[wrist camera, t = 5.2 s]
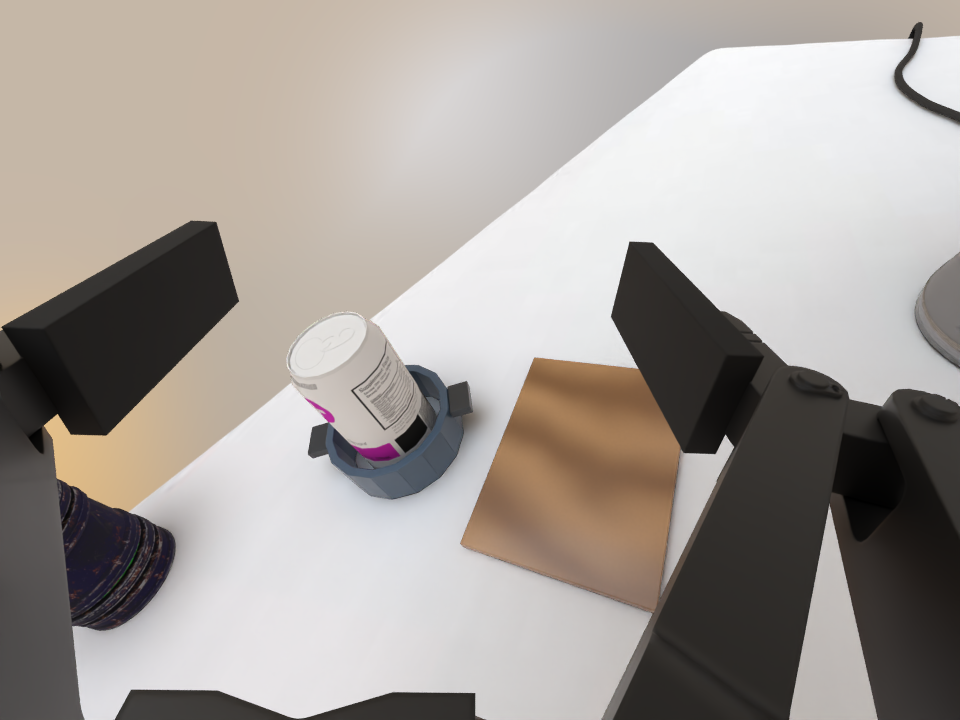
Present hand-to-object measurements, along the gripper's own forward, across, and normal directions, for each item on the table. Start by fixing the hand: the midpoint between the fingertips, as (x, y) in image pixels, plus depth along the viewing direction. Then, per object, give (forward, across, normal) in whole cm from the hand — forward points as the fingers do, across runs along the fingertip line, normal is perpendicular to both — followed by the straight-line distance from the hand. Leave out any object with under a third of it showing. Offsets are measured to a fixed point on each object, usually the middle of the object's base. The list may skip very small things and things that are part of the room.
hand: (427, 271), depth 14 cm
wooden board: (+13, +12, -22) cm, 28 cm away
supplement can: (+19, -4, -27) cm, 33 cm away
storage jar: (+11, -32, -39) cm, 51 cm away
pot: (+19, -4, -27) cm, 33 cm away
